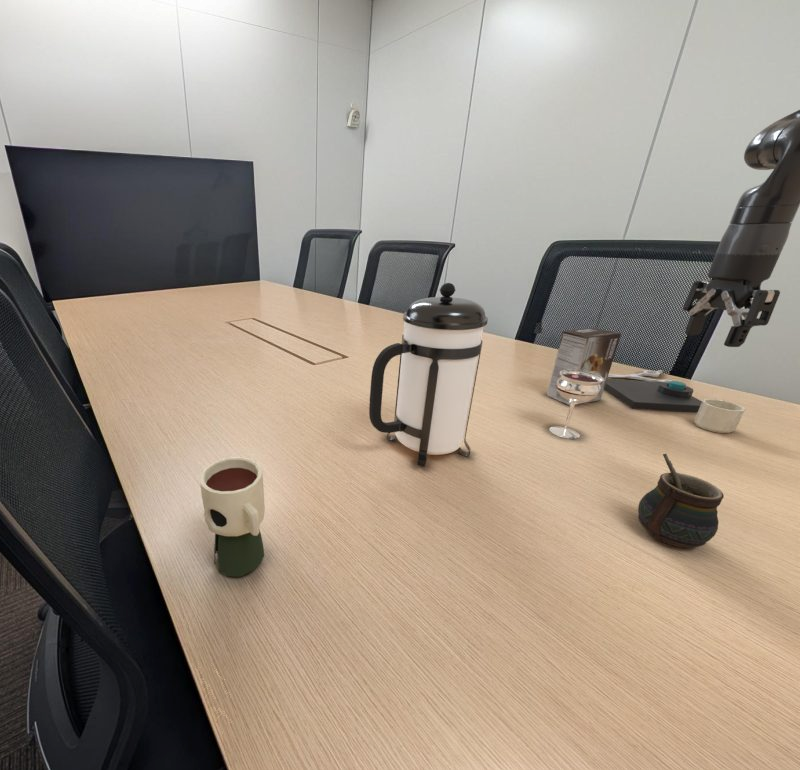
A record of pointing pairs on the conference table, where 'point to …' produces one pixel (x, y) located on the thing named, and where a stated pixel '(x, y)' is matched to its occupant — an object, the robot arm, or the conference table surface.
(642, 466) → the conference table surface
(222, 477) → the character mug
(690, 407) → the scale
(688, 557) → the conference table surface
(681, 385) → the tare button
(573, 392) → the wineglass
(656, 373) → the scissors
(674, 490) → the mate gourd
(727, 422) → the bowl
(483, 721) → the conference table surface
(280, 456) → the conference table surface
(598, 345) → the coffee box
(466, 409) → the coffee press
